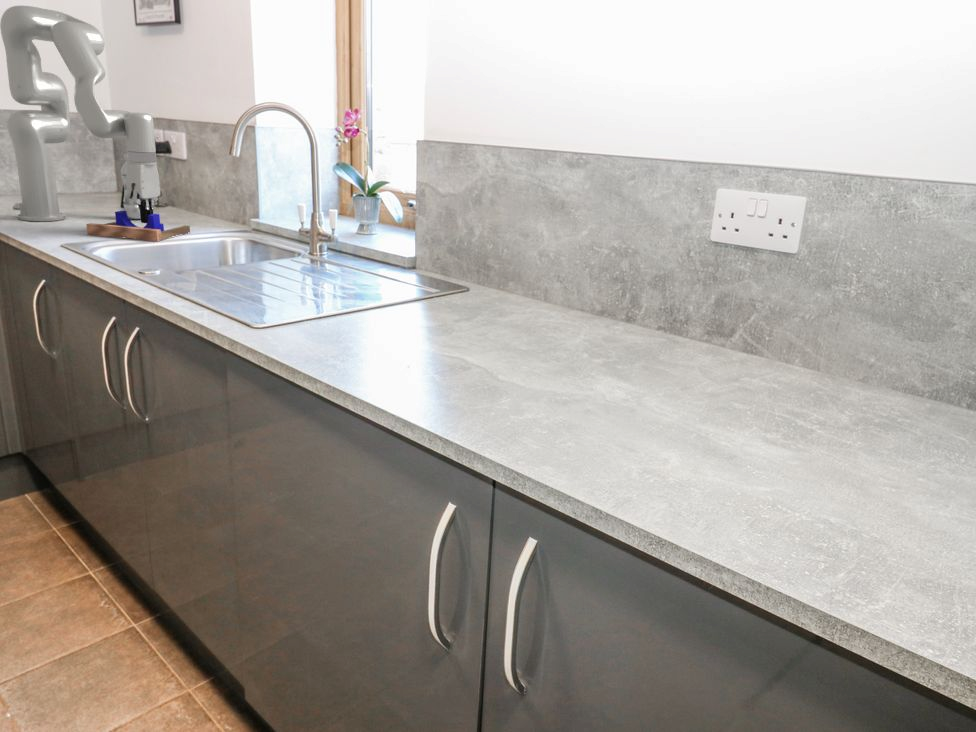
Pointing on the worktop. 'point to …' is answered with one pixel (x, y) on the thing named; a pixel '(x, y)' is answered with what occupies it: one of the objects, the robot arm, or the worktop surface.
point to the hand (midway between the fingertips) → (147, 222)
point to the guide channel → (134, 231)
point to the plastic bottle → (129, 206)
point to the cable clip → (124, 221)
